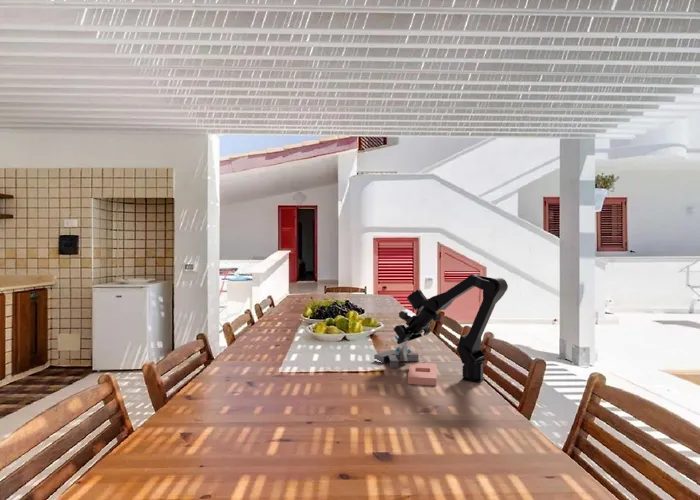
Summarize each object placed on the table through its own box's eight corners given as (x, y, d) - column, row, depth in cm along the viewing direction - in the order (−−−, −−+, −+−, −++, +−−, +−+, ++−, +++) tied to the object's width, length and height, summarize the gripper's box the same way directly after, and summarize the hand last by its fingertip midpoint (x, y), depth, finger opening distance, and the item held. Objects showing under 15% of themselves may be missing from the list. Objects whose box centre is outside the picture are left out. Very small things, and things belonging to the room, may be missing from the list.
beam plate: (410, 368, 178) (410, 362, 178) (436, 370, 176) (436, 363, 176) (407, 383, 158) (407, 376, 158) (436, 385, 157) (436, 378, 157)
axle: (410, 360, 185) (410, 329, 185) (401, 361, 183) (401, 329, 183) (404, 358, 189) (405, 327, 188) (396, 359, 187) (396, 328, 187)
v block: (421, 360, 191) (421, 353, 191) (394, 369, 177) (394, 361, 177) (396, 355, 200) (396, 348, 200) (369, 363, 187) (369, 356, 187)
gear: (412, 351, 201) (397, 335, 202) (403, 361, 200) (387, 344, 202) (411, 349, 212) (396, 334, 213) (402, 358, 211) (387, 342, 213)
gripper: (424, 301, 190) (403, 324, 197) (397, 305, 176) (376, 330, 184) (440, 322, 184) (418, 345, 192) (414, 328, 171) (391, 352, 179)
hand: (400, 342), depth 187 cm, fingers closed on axle, 4 cm apart
